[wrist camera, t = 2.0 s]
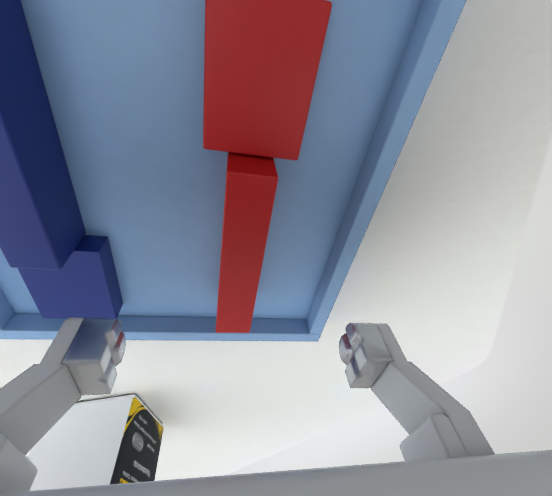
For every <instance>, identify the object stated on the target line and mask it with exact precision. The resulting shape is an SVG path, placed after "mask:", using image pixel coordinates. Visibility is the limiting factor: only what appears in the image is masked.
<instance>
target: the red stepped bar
mask: <svg viewBox="0 0 552 496" xmlns="http://www.w3.org/2000/svg"><path fill="white" fill-rule="evenodd" d="M331 9H332V2H330V1H328V0H205V44H204V109H203V148H204V149H208V150H216V151H223V152H228V155H227V169H226V184H225V199H224V213H223V228H222V242H221V257H220V272H219V286H218V301H217V316H216V333H249V332H250V328H251V323H252V317H253V312H254V307H255V301H256V296H257V291H258V285H259V280H260V275H261V269H262V264H263V259H264V253H265V248H266V243H267V237H268V232H269V227H270V221H271V216H272V210H273V205H274V200H275V194H276V189H277V184H278V174H277V170H276V166H275V163H274V159H273V158H279V159H287V160H295V161H296V160H298V158H299V153H300V149H301V144H302V140H303V135H304V131H305V126H306V122H307V117H308V112H309V108H310V103H311V99H312V94H313V90H314V85H315V81H316V76H317V72H318V67H319V63H320V58H321V54H322V49H323V45H324V40H325V36H326V31H327V27H328V22H329V18H330V13H331Z"/></svg>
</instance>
